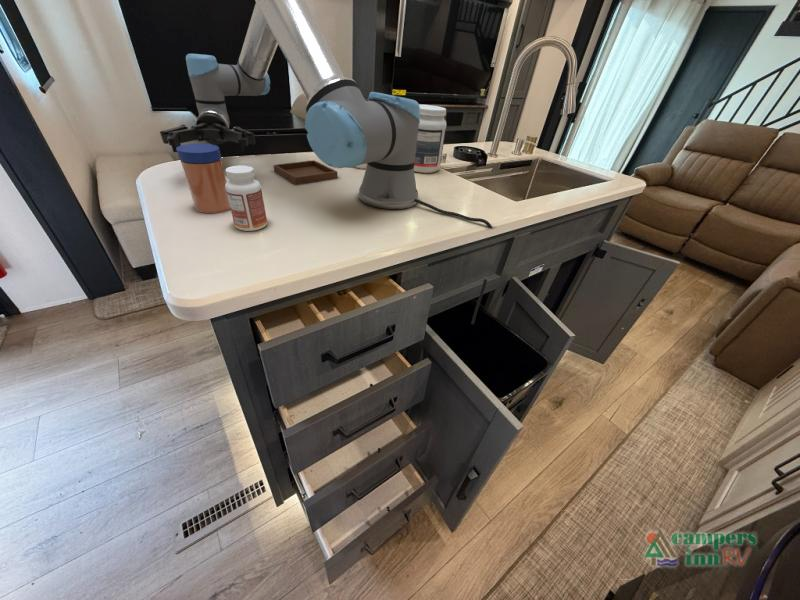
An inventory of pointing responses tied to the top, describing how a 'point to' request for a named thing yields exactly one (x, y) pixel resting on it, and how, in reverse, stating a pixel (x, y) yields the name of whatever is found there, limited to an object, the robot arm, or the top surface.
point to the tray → (305, 172)
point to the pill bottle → (245, 198)
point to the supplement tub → (430, 138)
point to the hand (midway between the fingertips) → (208, 145)
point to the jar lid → (198, 153)
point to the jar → (207, 186)
